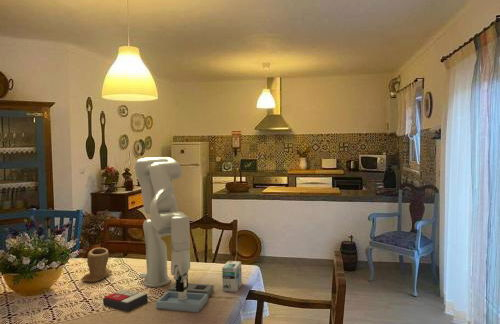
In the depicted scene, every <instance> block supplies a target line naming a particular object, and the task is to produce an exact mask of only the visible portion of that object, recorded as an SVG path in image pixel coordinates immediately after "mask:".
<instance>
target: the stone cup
mask: <svg viewBox="0 0 500 324" xmlns="http://www.w3.org/2000/svg"><path fill="white" fill-rule="evenodd" d="M109 254H110V252H109V250H108V249H107V248H104V247H95V248H92V249H91V250H89V251H88V253H87V260H86V261H87V262H86V263H87V267H88V269H89V273H87V274H85V275H84V276H82V278H81V280H83V281H84V282H89V283H90V282H91V283H92V282H98V281H100V280H103V279H104V278H105V277H107V276H109V275H110V274H111V273H113V271H112V270H111V269H110V268H109V267H107V265H108V261H109V258H110V257H109V256H110V255H109Z"/></svg>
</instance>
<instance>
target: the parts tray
mask: <svg viewBox="0 0 500 324" xmlns="http://www.w3.org/2000/svg"><path fill="white" fill-rule="evenodd" d="M208 301H209V297H208V294H201V293H187V300H186V301H178V292H173V291H168V290H167V291H166V292H165V293H164V294H163V295H162V296H161V297H160V298H158V299H157V300H156V302H155V304H156V305H155V306H156V307H155V308H156V310H157V309H158V310H165V311H181V312H193V313H199V312H201V310H202V309H203V307H204V306H205V305H206V304H207V303H208Z"/></svg>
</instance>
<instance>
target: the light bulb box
mask: <svg viewBox="0 0 500 324" xmlns="http://www.w3.org/2000/svg"><path fill="white" fill-rule="evenodd" d="M221 272H222V292H234V293H236V292H238V291H239V289H240V287H241V286H242V284H243V281H242V279H243V278H242V261H234V260H228V261H227V262H226V263H225V264H224V265H223V266H222V267H221Z"/></svg>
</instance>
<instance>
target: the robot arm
mask: <svg viewBox="0 0 500 324" xmlns="http://www.w3.org/2000/svg"><path fill="white" fill-rule="evenodd" d="M134 172H135V176H136V179H137V181H138V183H139V187H140V190H141V197H142V204H143V210H144V212H145V213H146V214H147V215H149V216H150V217H148V218H147V219H145V220H144V221H143V223H142V229H143V233H144V241H145V256H146V257H145V259H146V260H145V261H146V272H140V273H139V278H140V279H144V281H143V284H144V286H146V287H148V288H149V287H150V288H156V287H157V288H158V287H164V286H167V285H169V284H170V283H171V281H172V278H171V277H170V276H168V253H167V251H168V250H167V249H168V248H167V244H166V242H165V241H164V240H163V239H162V237H165V236H170V238H171V241H170V243H171V245H170V247H171V255H170V275H171V276H173V279H174V280H175V282H176V291H177V292H184V282H183V274H186V275H187V288H188V283H189V270H190V269H191V256H190V255H191V254H190V249H191V236H190V235H191V232H190V229H191V227H190V217H189V215H186V214H185V213H184V212H183V211H179V206H178V199H177V198H176V196H175V194H174V193H175V186H174V184H173V181H172V180H178V179H180V178H181V176H182V172H183V171H182V168H181V165H180V163H179V162H178V161H177V160H175V159H173V158H172V157H170V156H157V157H156V156H153V157H143V158H138V160H136V161H135V163H134ZM178 273H180V274H178ZM178 276H181V279H180V277H178ZM175 282H174V283H175Z"/></svg>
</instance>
